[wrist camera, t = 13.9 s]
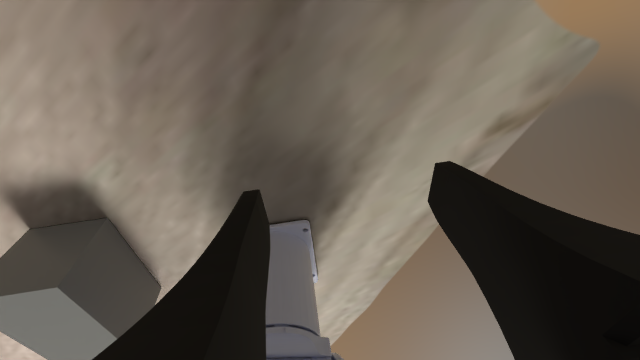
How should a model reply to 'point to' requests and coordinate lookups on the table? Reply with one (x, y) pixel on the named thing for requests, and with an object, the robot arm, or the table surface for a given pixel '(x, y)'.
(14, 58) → the table surface
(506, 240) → the robot arm
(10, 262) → the grey rectangular box
